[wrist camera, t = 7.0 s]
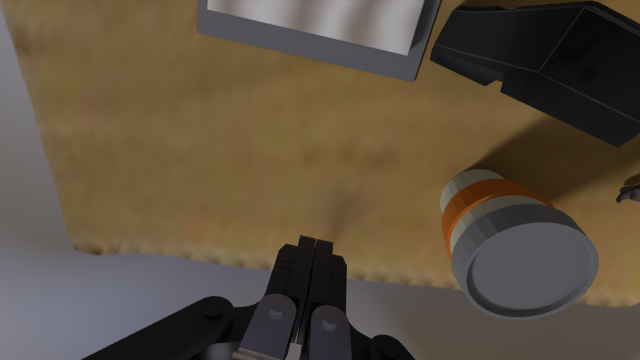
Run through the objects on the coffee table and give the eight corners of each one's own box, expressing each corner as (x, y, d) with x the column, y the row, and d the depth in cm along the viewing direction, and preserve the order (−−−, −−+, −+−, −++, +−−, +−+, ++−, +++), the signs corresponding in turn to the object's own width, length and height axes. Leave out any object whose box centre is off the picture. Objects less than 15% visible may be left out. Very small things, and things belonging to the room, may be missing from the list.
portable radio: (518, 34, 35) (815, 52, 13) (485, 86, 38) (682, 177, 15) (455, 3, 34) (652, -38, 12) (425, 58, 37) (541, 110, 15)
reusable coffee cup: (407, 201, 45) (431, 276, 32) (481, 136, 40) (547, 193, 27) (467, 251, 48) (512, 339, 34) (543, 196, 43) (630, 274, 30)
